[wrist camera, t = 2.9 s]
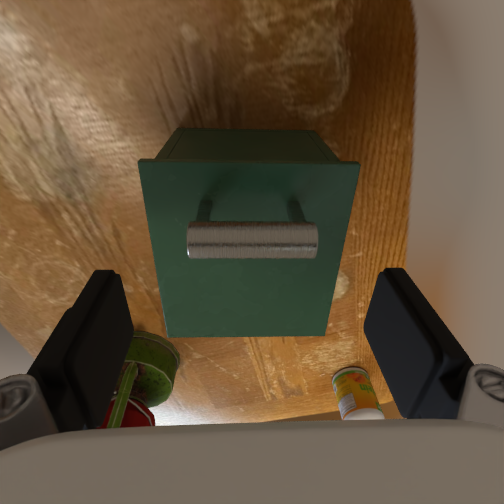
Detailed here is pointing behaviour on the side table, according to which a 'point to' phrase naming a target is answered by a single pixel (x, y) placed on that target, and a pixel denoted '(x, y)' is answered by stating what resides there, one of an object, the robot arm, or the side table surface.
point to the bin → (246, 145)
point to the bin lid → (247, 243)
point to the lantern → (142, 382)
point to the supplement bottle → (356, 395)
